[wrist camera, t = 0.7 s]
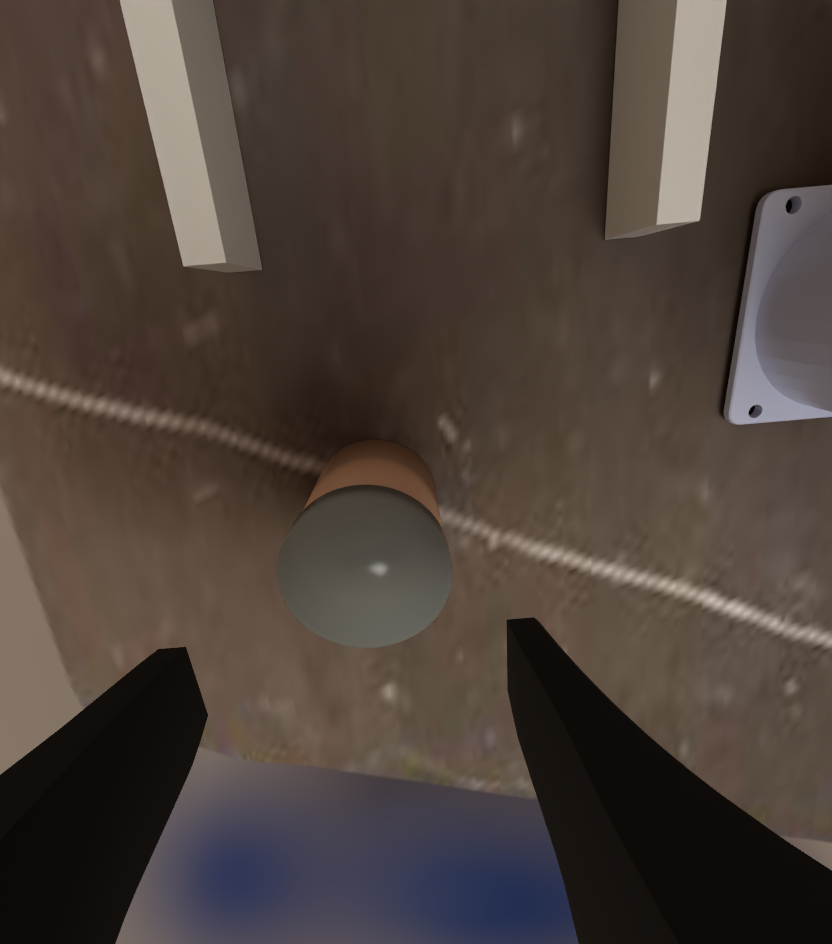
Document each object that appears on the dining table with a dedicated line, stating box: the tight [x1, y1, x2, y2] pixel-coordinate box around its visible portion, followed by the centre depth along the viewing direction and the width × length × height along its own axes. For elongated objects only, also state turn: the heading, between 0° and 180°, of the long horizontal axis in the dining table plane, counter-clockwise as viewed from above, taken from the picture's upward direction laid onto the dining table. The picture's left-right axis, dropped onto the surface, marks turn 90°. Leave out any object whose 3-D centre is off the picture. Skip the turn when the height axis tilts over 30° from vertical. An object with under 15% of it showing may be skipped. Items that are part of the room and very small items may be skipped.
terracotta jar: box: [277, 440, 452, 648], centre depth 16 cm, size 5×5×6 cm
